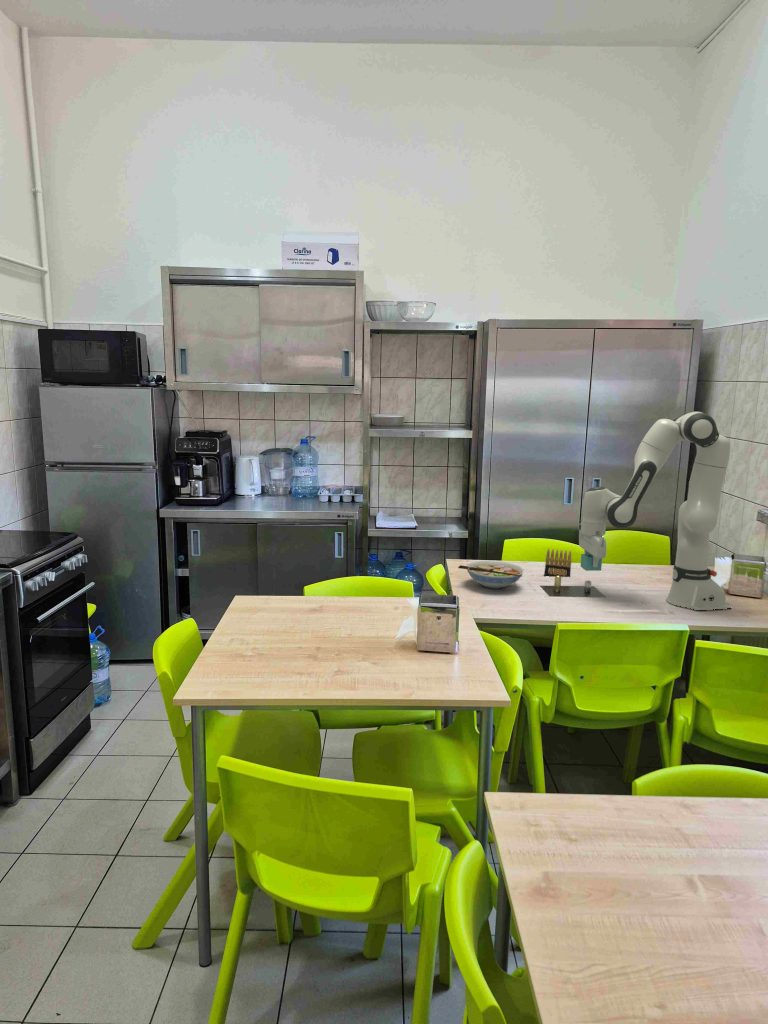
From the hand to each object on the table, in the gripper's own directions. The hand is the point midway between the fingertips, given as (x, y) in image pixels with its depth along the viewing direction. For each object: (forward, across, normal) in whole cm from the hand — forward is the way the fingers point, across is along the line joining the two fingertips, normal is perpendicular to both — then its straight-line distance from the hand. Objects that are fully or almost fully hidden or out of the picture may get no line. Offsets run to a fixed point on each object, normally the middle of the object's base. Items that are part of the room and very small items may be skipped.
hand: (591, 564), depth 261 cm
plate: (+12, 0, +7) cm, 14 cm away
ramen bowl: (+12, +9, +36) cm, 39 cm away
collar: (+2, 0, 0) cm, 2 cm away
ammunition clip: (+12, +23, +6) cm, 26 cm away
